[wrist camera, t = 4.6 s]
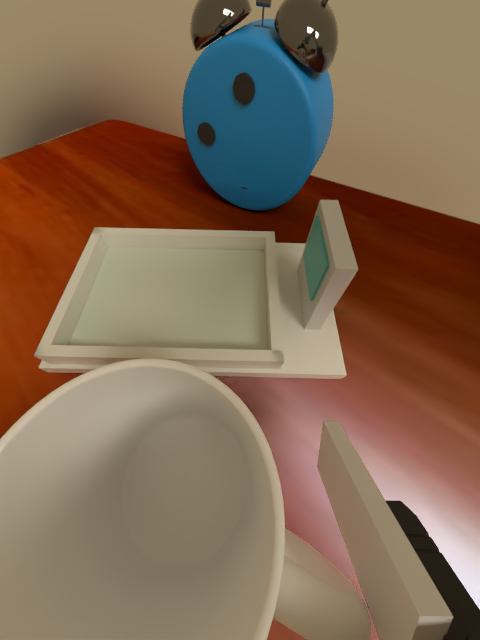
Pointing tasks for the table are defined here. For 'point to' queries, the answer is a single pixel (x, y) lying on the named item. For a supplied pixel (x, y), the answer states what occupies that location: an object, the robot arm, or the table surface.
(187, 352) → the dock
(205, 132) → the alarm clock
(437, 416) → the table surface
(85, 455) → the cup
